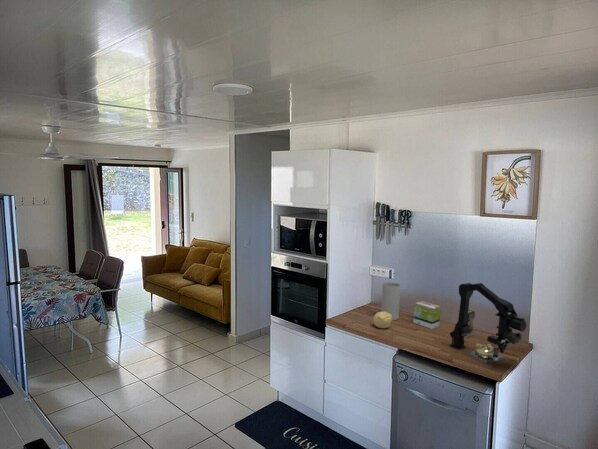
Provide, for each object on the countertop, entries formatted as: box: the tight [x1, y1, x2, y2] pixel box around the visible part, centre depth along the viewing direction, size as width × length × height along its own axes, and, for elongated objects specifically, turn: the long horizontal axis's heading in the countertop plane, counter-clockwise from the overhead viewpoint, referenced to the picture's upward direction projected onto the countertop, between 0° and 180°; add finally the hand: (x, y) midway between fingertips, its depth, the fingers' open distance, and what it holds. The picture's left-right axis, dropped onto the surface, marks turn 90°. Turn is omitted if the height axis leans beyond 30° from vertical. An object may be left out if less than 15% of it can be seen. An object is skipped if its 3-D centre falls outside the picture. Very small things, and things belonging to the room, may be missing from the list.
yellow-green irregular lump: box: [474, 343, 500, 360], centre depth 227 cm, size 17×11×8 cm, turn 1°
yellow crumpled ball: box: [373, 311, 393, 329], centre depth 275 cm, size 12×12×11 cm
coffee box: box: [457, 309, 476, 339], centre depth 264 cm, size 9×6×16 cm
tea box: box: [412, 300, 441, 330], centre depth 282 cm, size 15×10×15 cm, turn 42°
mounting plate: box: [466, 350, 506, 365], centre depth 231 cm, size 13×15×2 cm
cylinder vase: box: [380, 281, 401, 322], centre depth 294 cm, size 12×12×25 cm
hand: (502, 353), depth 221 cm, fingers closed
